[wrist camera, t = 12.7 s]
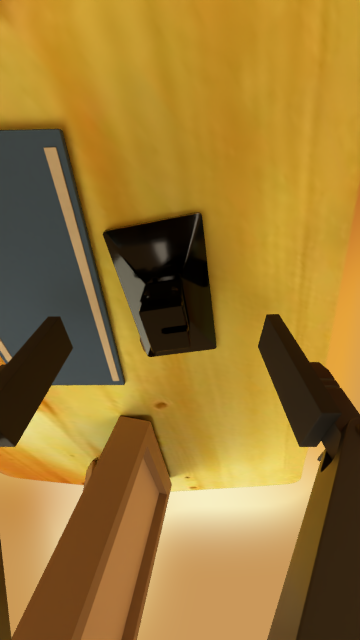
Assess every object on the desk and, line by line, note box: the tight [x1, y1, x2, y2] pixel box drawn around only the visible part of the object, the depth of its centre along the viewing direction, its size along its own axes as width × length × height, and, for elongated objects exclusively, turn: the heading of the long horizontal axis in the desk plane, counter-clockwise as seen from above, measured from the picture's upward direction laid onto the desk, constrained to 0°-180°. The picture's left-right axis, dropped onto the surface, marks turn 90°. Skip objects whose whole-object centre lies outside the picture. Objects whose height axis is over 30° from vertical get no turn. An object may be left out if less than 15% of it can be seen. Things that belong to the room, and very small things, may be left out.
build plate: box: [103, 212, 216, 357], centre depth 17 cm, size 12×7×5 cm, turn 10°
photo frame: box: [12, 416, 172, 640], centre depth 25 cm, size 15×22×25 cm
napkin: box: [0, 129, 125, 385], centre depth 18 cm, size 22×12×1 cm, turn 1°
